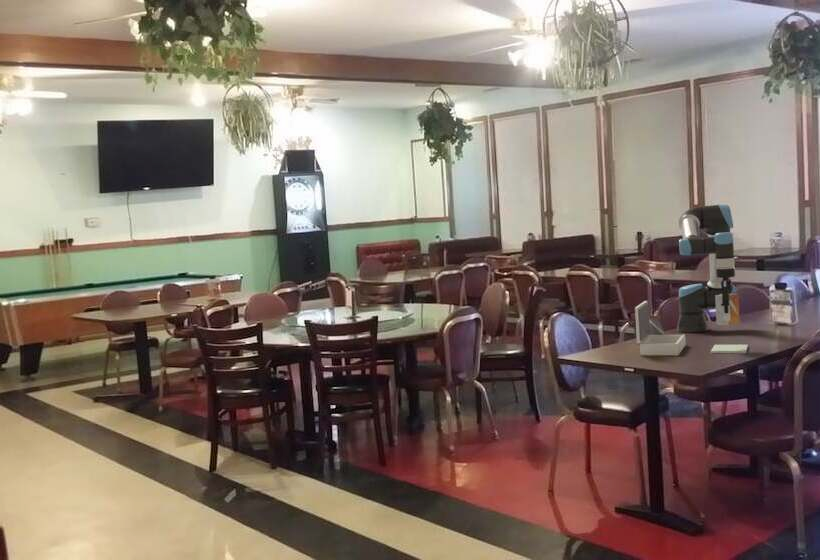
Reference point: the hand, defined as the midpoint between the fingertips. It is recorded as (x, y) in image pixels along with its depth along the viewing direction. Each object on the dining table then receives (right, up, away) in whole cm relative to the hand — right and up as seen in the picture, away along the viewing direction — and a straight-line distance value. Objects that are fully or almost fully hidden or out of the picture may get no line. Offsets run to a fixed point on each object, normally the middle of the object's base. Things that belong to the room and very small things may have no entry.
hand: (728, 318), depth 360 cm
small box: (0, -2, 0) cm, 2 cm away
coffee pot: (-19, -13, +37) cm, 44 cm away
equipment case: (-24, -15, +13) cm, 31 cm away
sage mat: (+1, -14, +1) cm, 14 cm away
